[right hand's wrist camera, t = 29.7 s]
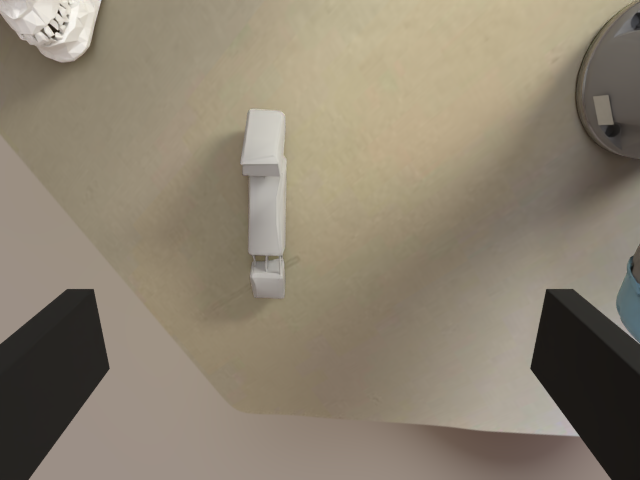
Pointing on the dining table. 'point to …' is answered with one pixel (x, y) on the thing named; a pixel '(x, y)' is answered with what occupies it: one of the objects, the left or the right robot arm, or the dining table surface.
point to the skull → (39, 10)
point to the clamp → (266, 199)
